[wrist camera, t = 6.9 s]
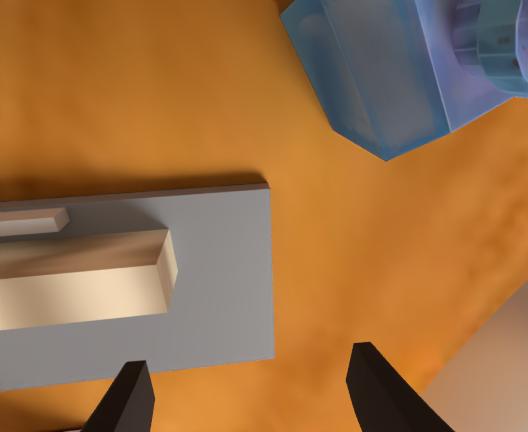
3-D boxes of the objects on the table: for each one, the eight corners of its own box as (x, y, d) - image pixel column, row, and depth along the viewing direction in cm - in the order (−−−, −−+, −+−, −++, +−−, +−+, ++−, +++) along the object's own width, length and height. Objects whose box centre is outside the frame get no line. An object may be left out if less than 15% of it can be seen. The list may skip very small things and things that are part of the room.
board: (272, 347, 24) (286, 428, 18) (-141, 396, 21) (-264, 505, 16) (267, 182, 17) (285, 233, 12) (-320, 224, 15) (-622, 311, 10)
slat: (169, 228, 17) (156, 264, 14) (177, 271, 18) (167, 312, 15) (-58, 247, 16) (-126, 290, 13) (-31, 290, 17) (-87, 339, 14)
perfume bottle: (400, -69, 13) (1184, -687, 2) (437, 66, 16) (880, 64, 5) (279, 15, 14) (450, -156, 3) (333, 130, 17) (523, 242, 6)
